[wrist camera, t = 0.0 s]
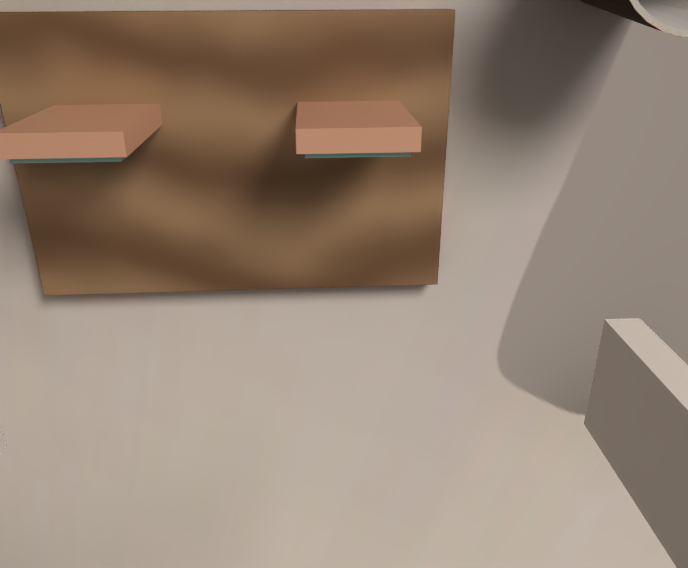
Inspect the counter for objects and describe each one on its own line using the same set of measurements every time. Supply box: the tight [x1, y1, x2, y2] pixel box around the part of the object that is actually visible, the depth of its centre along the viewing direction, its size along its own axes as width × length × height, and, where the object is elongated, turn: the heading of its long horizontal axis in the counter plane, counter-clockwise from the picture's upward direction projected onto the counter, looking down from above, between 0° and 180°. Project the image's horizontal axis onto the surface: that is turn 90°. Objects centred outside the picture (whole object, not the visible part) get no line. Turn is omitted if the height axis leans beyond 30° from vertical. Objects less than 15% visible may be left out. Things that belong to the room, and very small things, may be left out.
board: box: [0, 9, 455, 295], centre depth 39 cm, size 17×26×2 cm, turn 90°
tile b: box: [296, 101, 422, 158], centre depth 33 cm, size 2×6×8 cm, turn 90°
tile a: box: [0, 104, 162, 163], centre depth 33 cm, size 2×6×8 cm, turn 90°
